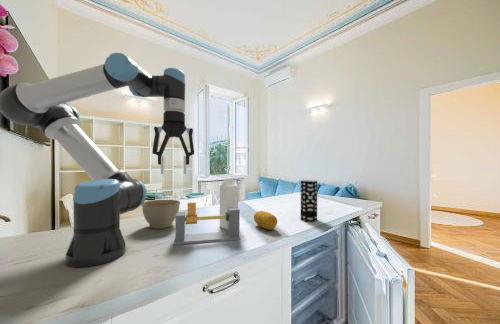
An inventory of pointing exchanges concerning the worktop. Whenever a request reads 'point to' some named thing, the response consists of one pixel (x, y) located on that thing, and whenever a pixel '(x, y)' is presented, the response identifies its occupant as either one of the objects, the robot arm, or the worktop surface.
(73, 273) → the worktop surface
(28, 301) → the worktop surface
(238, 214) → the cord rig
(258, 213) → the potato
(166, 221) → the planter bowl
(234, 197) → the milk
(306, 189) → the white-spotted black cylinder
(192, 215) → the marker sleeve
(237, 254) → the worktop surface
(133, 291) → the worktop surface
